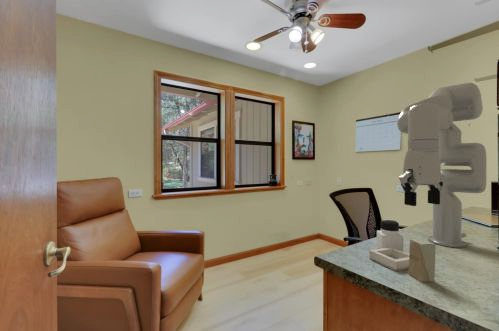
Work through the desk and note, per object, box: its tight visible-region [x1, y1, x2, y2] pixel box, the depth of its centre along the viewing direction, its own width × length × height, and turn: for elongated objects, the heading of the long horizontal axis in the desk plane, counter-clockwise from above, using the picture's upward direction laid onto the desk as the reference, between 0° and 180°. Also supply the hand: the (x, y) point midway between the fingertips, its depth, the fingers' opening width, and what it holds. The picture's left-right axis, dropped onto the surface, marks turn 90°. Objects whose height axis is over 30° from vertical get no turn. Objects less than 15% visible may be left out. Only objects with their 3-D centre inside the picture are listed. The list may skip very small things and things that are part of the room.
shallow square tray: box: [368, 247, 409, 272], centre depth 82 cm, size 10×10×3 cm
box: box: [408, 238, 437, 283], centre depth 71 cm, size 5×4×11 cm
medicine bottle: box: [376, 219, 404, 252], centre depth 93 cm, size 7×7×12 cm
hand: (422, 204), depth 71 cm, fingers open, 9 cm apart
